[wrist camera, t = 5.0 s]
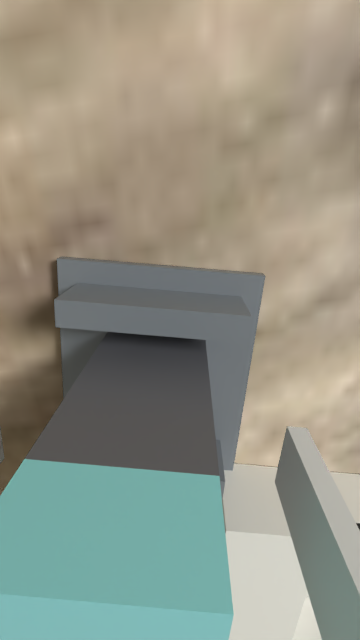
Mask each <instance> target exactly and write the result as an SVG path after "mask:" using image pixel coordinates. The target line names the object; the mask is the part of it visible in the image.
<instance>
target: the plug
mask: <svg viewBox="0 0 360 640" xmlns="http://www.w3.org/2000/svg"><path fill="white" fill-rule="evenodd" d="M233 616H234V613H233V603H232V593H231V584H230V574H229V564H228V554H227V545H226V535H225V525H224V515H223V506H222V496H221V486H220V476H219V467H218V457H217V447H216V437H215V428H214V418H213V408H212V398H211V389H210V379H209V369H208V359H207V350H206V340H200V339H188V338H177V337H165V336H153V335H141V334H129V333H118V332H107V334H106V335H105V337H104V338H103V340H102V341H101V343H100V344H99V346H98V348H97V349H96V351H95V352H94V354H93V355H92V357H91V358H90V360H89V361H88V363H87V364H86V366H85V367H84V369H83V370H82V372H81V373H80V375H79V377H78V378H77V380H76V381H75V383H74V384H73V386H72V387H71V389H70V390H69V392H68V393H67V395H66V396H65V398H64V399H63V401H62V402H61V404H60V405H59V407H58V409H57V410H56V412H55V413H54V415H53V416H52V418H51V419H50V421H49V422H48V424H47V425H46V427H45V428H44V430H43V431H42V433H41V434H40V436H39V437H38V439H37V441H36V442H35V444H34V445H33V447H32V448H31V450H30V451H29V453H28V454H27V456H26V457H25V459H24V460H23V462H22V463H21V465H20V466H19V468H18V470H17V471H16V473H15V474H14V476H13V477H12V479H11V480H10V482H9V483H8V485H7V486H6V488H5V489H4V491H3V492H2V494H1V495H0V640H229V635H230V630H231V625H232V621H233Z"/></svg>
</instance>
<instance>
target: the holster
mask: <svg viewBox="0 0 360 640" xmlns="http://www.w3.org/2000/svg"><path fill="white" fill-rule="evenodd" d="M57 272H58V293H59V296H58V297H57V298H56V299H54V308H55V327H59V328H60V335H61V355H62V376H63V397H64V398H65V396H66V395H67V393H68V392H69V390H70V389H71V387H72V386H73V384H74V383H75V381H76V380H77V378H78V377H79V375H80V373H81V372H82V370H83V369H84V367H85V366H86V364H87V363H88V361H89V360H90V358H91V357H92V355H93V354H94V352H95V351H96V349H97V348H98V346H99V344H100V343H101V341H102V340H103V338H104V337H105V335H106V334H107V332H118V333H129V334H141V335H153V336H165V337H177V338H188V339H200V340H206V350H207V359H208V369H209V379H210V389H211V398H212V408H213V418H214V428H215V437H216V447H217V457H218V467H219V476H220V486H221V496H222V499H223V493H224V487H225V475H224V470H230V471H233V466H234V460H235V454H236V448H237V442H238V436H239V430H240V424H241V418H242V412H243V406H244V400H245V394H246V388H247V382H248V376H249V370H250V364H251V358H252V352H253V346H254V340H255V334H256V328H257V322H258V316H259V310H260V304H261V298H262V292H263V286H264V280H265V275H264V274H263V273H251V272H239V271H227V270H215V269H203V268H191V267H179V266H167V265H155V264H143V263H131V262H119V261H107V260H95V259H84V258H72V257H59V258H57Z"/></svg>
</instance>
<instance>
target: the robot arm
mask: <svg viewBox="0 0 360 640" xmlns="http://www.w3.org/2000/svg"><path fill="white" fill-rule="evenodd" d="M3 459H4V452H3V444H2V436H1V428H0V463H1V462H2V461H3ZM275 485H276V488H277V491H278V495H279V498H280V501H281V505H282V508H283V511H284V515H285V518H286V521H287V525H288V528H289V531H290V535H291V538H292V541H293V545H294V548H295V551H296V555H297V558H298V561H299V565H300V568H301V571H302V575H303V578H304V581H305V585H306V588H307V591H308V595H309V598H310V601H311V605H312V608H313V611H314V615H315V618H316V621H317V625H318V628H319V631H320V635H321V638H322V640H360V523H356V522H355V520H354V518H353V516H352V515H351V513H350V511H349V509H348V507H347V505H346V503H345V501H344V499H343V497H342V495H341V493H340V491H339V489H338V487H337V485H336V483H335V482H334V480H333V478H332V476H331V474H330V472H329V470H328V468H327V466H326V464H325V462H324V460H323V458H322V456H321V454H320V452H319V451H318V449H317V447H316V445H315V443H314V441H313V439H312V437H311V435H310V433H309V431H308V429H307V428H301V427H289V426H287V429H286V433H285V438H284V442H283V447H282V451H281V456H280V460H279V464H278V469H277V473H276V478H275Z"/></svg>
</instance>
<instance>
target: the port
mask: <svg viewBox="0 0 360 640" xmlns="http://www.w3.org/2000/svg"><path fill="white" fill-rule="evenodd" d="M277 469H278V467H269V466H258V465H246V464H235V463H234V466H233V471H230V470H224V475H225V487H224V493H223V499H222V506H223V515H224V525H225V535H226V545H227V554H228V564H229V574H230V584H231V593H232V603H233V613H234V616H233V621H232V625H231V630H230V635H229V640H322V638H321V635H320V631H319V628H318V625H317V621H316V618H315V615H314V611H313V608H312V605H311V601H310V598H309V595H308V591H307V588H306V585H305V581H304V578H303V575H302V571H301V568H300V565H299V561H298V558H297V555H296V551H295V548H294V545H293V541H292V538H291V535H290V531H289V528H288V525H287V521H286V518H285V515H284V511H283V508H282V505H281V501H280V498H279V495H278V491H277V488H276V485H275V478H276V473H277ZM330 474H331V476H332V478H333V480H334V482H335V483H336V485H337V487H338V489H339V491H340V493H341V495H342V497H343V499H344V501H345V503H346V505H347V507H348V509H349V511H350V513H351V515H352V516H353V518H354V520H355V522H356V523H360V474H350V473H338V472H330Z"/></svg>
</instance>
